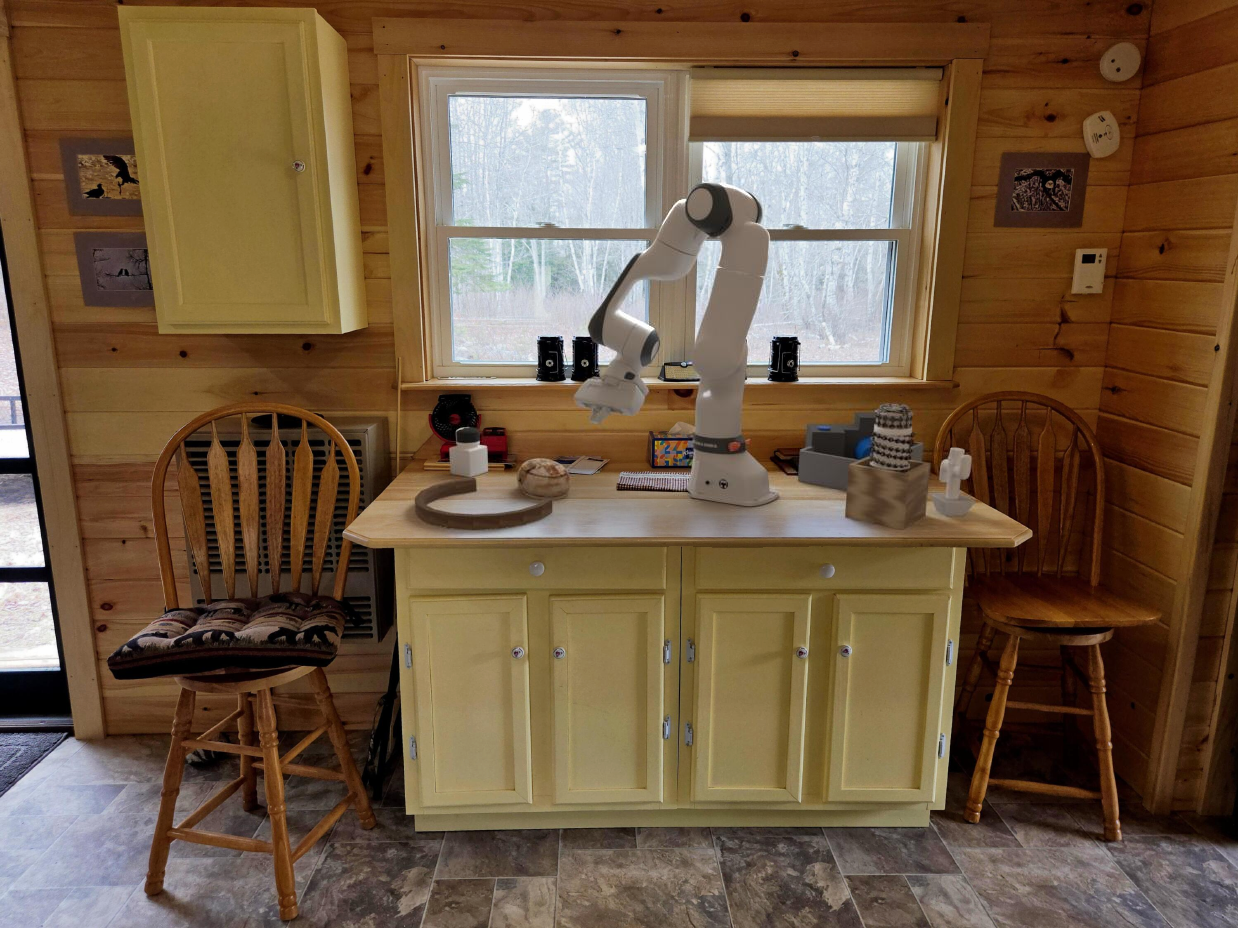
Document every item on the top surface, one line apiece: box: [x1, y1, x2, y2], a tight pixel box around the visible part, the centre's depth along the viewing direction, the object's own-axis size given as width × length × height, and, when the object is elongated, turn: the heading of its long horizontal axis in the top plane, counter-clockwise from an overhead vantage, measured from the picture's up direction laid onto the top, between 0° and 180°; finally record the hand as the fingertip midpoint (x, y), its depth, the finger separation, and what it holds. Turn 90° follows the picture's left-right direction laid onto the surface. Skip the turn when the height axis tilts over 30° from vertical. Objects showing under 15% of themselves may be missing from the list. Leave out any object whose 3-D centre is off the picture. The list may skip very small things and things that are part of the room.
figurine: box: [928, 447, 976, 517], centre depth 183 cm, size 7×9×15 cm
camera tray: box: [797, 441, 924, 492], centre depth 214 cm, size 21×30×8 cm
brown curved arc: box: [414, 477, 553, 531], centre depth 184 cm, size 31×24×3 cm
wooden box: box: [844, 456, 932, 530], centre depth 181 cm, size 13×13×12 cm
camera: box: [805, 411, 876, 460], centre depth 215 cm, size 25×16×16 cm, turn 85°
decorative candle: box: [870, 403, 916, 473], centre depth 179 cm, size 9×9×25 cm
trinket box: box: [516, 457, 571, 500], centre depth 199 cm, size 13×15×8 cm
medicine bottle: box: [448, 426, 489, 478], centre depth 215 cm, size 7×7×12 cm
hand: (593, 422), depth 211 cm, fingers closed
